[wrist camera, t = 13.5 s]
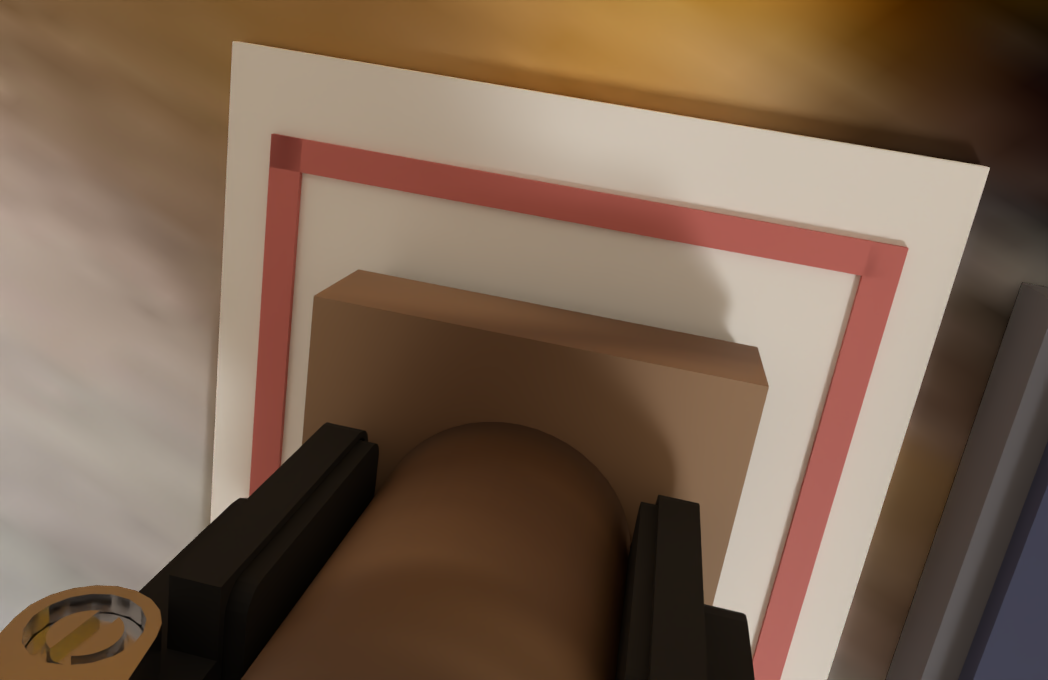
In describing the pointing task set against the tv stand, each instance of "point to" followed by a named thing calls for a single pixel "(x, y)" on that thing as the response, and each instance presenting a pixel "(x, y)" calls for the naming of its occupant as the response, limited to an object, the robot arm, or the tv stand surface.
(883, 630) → the tv stand surface
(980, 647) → the ink pad
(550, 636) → the stamp
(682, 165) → the marked card
